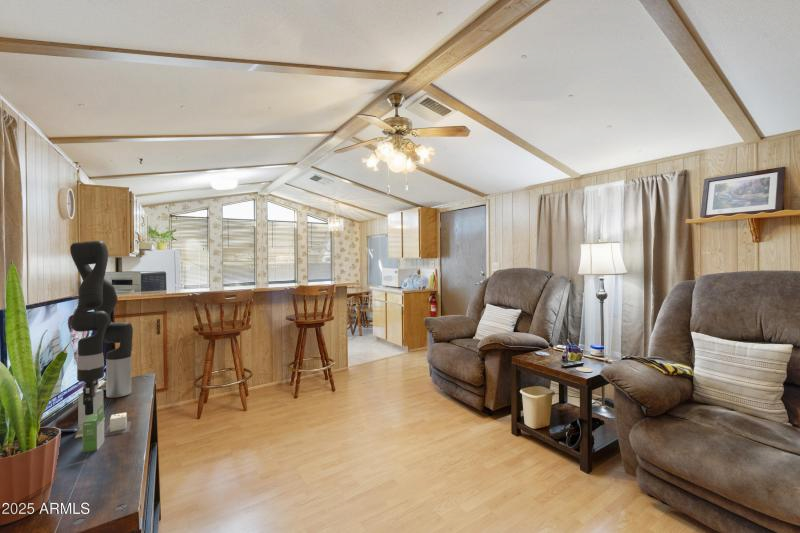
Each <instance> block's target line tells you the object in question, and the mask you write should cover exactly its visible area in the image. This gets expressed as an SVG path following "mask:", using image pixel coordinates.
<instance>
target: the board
mask: <svg viewBox="0 0 800 533" xmlns="http://www.w3.org/2000/svg"><path fill="white" fill-rule="evenodd" d="M106 420H107V418H106V417H104V424H105V423H106ZM73 439H74V440H77V439H83V427H79V428H78V429H77V432H76V434H75V435H74V437H73Z"/></svg>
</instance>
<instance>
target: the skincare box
mask: <svg viewBox="0 0 800 533" xmlns="http://www.w3.org/2000/svg"><path fill="white" fill-rule="evenodd" d="M93 394H94V393H93ZM77 395H78V402H77V403H78V404H77V405H78V406H77V407H78V408H77V411H78V413H77V415H78V416H77V419H78V420H77V421H78V422H77V423H78V424H77V428H78V427H79V428H80V427H83V422H84V421H85V420H86V419H87V418H88V417H89V416H90V415H85V405H83V392H82V393H79V394H77ZM87 401H90V398H87ZM103 403H104V389H99V388H98V389H97V390H96V397H94V403H93V414H97V409H98V408H99V407H100V406H101V405H102V404H103ZM101 411H102V408H101V409H100V411H99V413H100V412H101ZM93 414H91V415H93Z"/></svg>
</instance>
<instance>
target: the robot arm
mask: <svg viewBox="0 0 800 533" xmlns="http://www.w3.org/2000/svg"><path fill="white" fill-rule="evenodd" d="M69 249H70V250H69V251H70V255H71V259H72V261H73V262H74V266H76V269H77V271H78V273H79V275H80V276H81V279H82V282H81V283H80V286H79V287H78V303H77V307H76V309H75V311H74V313H73V315H72V317H71V321H70V327H71V329H72V330H73V331H75V332H77V333H81V332H91V331H95V333H94V334H92V335H90V336H86V337H82V338H80V339H79V340H78V341H77V359H76V360H77V361H76V379H77V381H78V382H80V383H82V382H85V383H84V385H82V393H83V405H85V415H91V414H93V403H94V397H96V390H97V389H99V380H100V379H102V378H103V377H104V376H105V377H106V378H105V379H106V380H105V381H106V382H105V384H106V385H105V388H106V390H105V394H106V395H105V396H106V397H107V398H110V399H111V398H112V399H113V398H120V397H125V396H128V395H130V394H131V393H132V352H133V338H134V337H133V336H134V333H133V332H134V328H133V325H132V323H130V322H122V321H121V322H113V321H112V319H111V315H112V312H113V310H114V309H115V308H116V306H117V303H118V295H117V292H116V288H115V287H114V285H113V284H112V283H111V282H110V281H109V280H107V279H106V278H105V276H106V271H107V266H108V260H109V250H108V246H107V244H106V242H104V241H102V240H90V241H79V242H73V243H71V245H70V248H69ZM91 265H94V267H93V268H92V267H91ZM104 343H107V344H118V343H119V346H118V347H117V348H115V349H112V350H109V351H107V352H106V355H105V357H104ZM104 360H105V361H104ZM105 362H106V363H105ZM105 364H106V365H105ZM105 368H106V370H105ZM105 371H106V372H105ZM93 393H94V394H93ZM87 398H90V401H87Z"/></svg>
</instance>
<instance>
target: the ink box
mask: <svg viewBox="0 0 800 533" xmlns="http://www.w3.org/2000/svg"><path fill="white" fill-rule="evenodd" d="M104 407H105V403H104V402H103V404H102V405H101V406H100V407H99V408H98V409H97V414H93V415H90V416H89V417H88V418H87V419H86V420H85V421H84V422H83V438H82V453H89V452H95V451H98V450H99V449H100V448H101V447H102V445H103V443H104V442H105V423H104V418H105V412H104V411H105V410H104V409H105V408H104ZM101 408H102V411H101V412H100V413H99V411H100V409H101Z"/></svg>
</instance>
